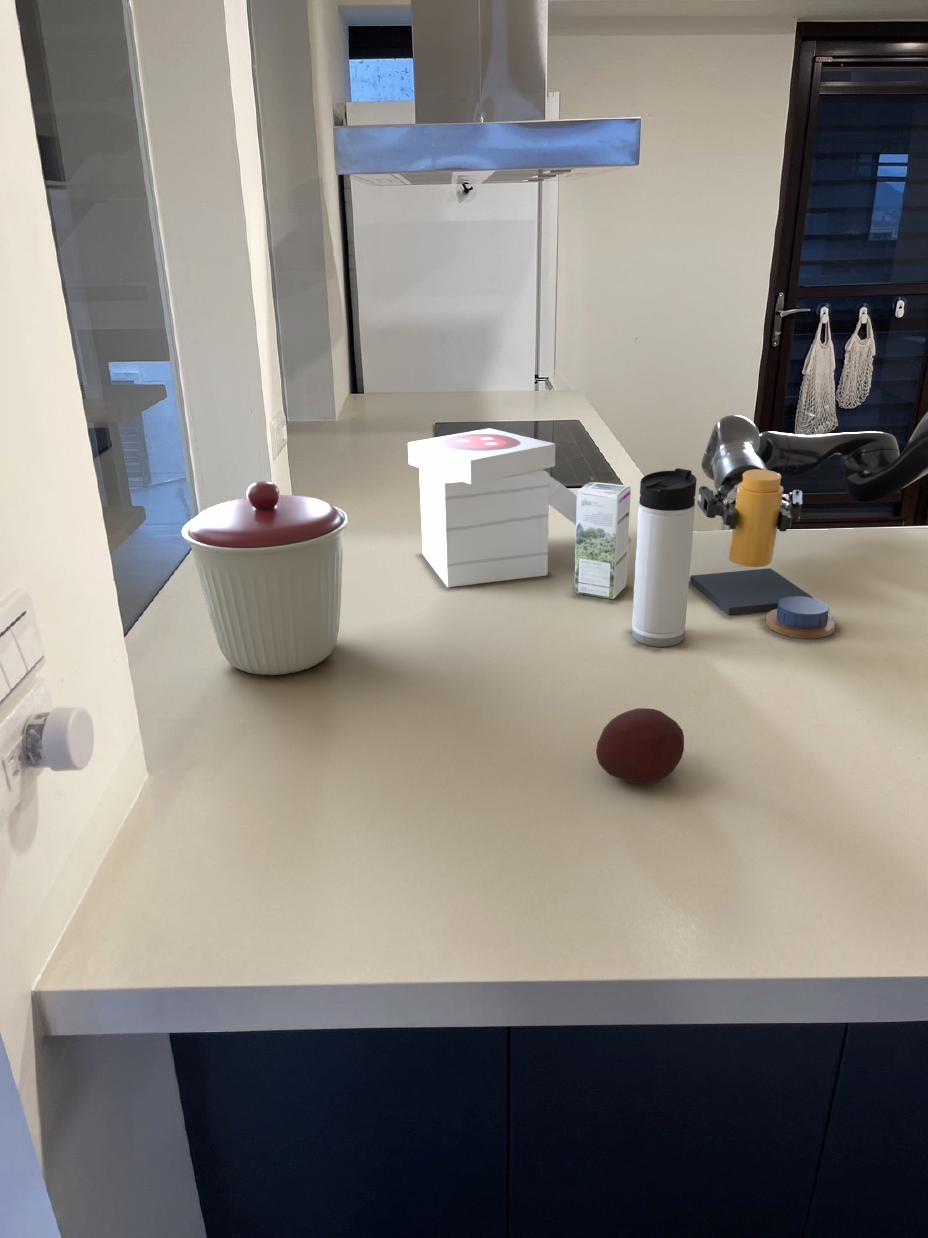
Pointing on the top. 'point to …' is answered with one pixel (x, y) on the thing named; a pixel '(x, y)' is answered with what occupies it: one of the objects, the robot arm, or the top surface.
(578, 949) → the top surface
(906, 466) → the robot arm
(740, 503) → the jar
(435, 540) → the pizza boxes
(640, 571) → the travel mug
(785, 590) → the mat
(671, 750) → the potato
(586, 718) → the top surface
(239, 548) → the canister
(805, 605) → the jar lid
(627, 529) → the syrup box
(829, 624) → the coaster
